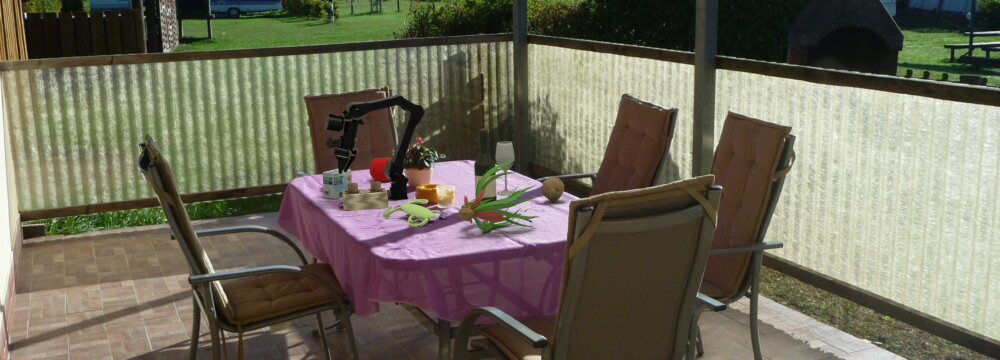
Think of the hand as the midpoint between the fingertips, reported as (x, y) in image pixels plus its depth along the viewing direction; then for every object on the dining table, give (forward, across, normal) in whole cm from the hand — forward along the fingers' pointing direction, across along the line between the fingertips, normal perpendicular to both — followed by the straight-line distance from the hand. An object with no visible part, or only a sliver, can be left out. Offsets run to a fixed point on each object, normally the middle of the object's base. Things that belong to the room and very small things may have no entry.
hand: (342, 172), depth 421 cm
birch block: (+11, +3, +12) cm, 17 cm away
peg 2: (+6, +2, +15) cm, 17 cm away
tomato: (+5, -50, +9) cm, 51 cm away
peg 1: (+8, +5, +7) cm, 12 cm away
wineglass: (-3, -17, +64) cm, 67 cm away
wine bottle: (+1, +6, +59) cm, 59 cm away
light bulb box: (+12, -19, -4) cm, 23 cm away
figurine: (+9, +24, +35) cm, 43 cm away
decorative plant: (+4, +45, +66) cm, 80 cm away
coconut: (-5, +2, +84) cm, 84 cm away
